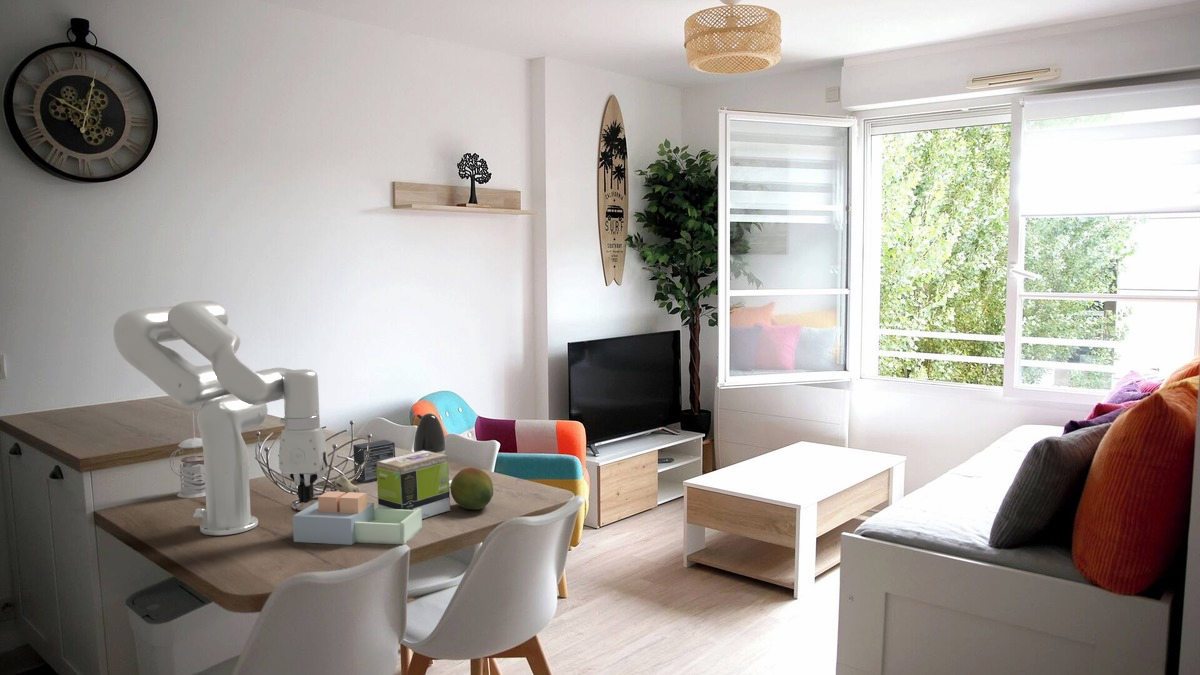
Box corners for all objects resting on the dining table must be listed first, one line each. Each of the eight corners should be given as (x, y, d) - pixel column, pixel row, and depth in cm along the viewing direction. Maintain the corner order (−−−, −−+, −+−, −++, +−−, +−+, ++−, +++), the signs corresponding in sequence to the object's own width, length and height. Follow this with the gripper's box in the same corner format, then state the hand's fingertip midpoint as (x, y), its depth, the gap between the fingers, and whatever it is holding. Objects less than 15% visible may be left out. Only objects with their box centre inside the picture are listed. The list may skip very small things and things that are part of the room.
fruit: (478, 498, 217) (477, 461, 216) (507, 508, 208) (507, 469, 207) (441, 507, 209) (440, 469, 208) (470, 518, 200) (469, 478, 199)
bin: (355, 542, 183) (354, 520, 182) (376, 526, 194) (375, 506, 193) (403, 544, 181) (403, 522, 181) (422, 528, 192) (421, 508, 191)
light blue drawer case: (293, 541, 183) (292, 515, 183) (320, 524, 195) (319, 500, 195) (351, 544, 181) (351, 518, 181) (374, 527, 193) (374, 503, 192)
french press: (205, 497, 218) (201, 406, 216) (163, 497, 219) (158, 406, 217) (223, 488, 228) (219, 400, 226) (182, 487, 229) (178, 400, 226)
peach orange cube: (339, 512, 185) (339, 497, 185) (348, 506, 189) (348, 492, 189) (358, 513, 184) (357, 498, 184) (367, 507, 189) (366, 492, 188)
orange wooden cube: (318, 511, 186) (318, 496, 186) (328, 505, 190) (327, 491, 190) (336, 512, 185) (336, 497, 185) (346, 506, 190) (345, 492, 189)
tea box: (425, 504, 212) (424, 448, 211) (451, 511, 206) (449, 454, 204) (377, 518, 200) (375, 459, 199) (402, 526, 194) (400, 465, 193)
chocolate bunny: (350, 518, 200) (349, 478, 199) (323, 516, 202) (321, 476, 201) (363, 512, 205) (362, 473, 204) (336, 509, 208) (335, 471, 207)
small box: (386, 472, 244) (385, 438, 243) (397, 477, 240) (396, 442, 239) (353, 479, 237) (352, 443, 236) (363, 483, 232) (362, 447, 231)
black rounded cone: (430, 455, 267) (429, 409, 266) (452, 459, 261) (451, 412, 260) (406, 461, 259) (405, 414, 257) (429, 465, 253) (428, 417, 251)
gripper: (263, 426, 185) (267, 504, 186) (324, 427, 182) (328, 507, 184) (281, 419, 192) (285, 495, 193) (340, 420, 190) (343, 497, 191)
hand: (306, 501), depth 189 cm, fingers closed
